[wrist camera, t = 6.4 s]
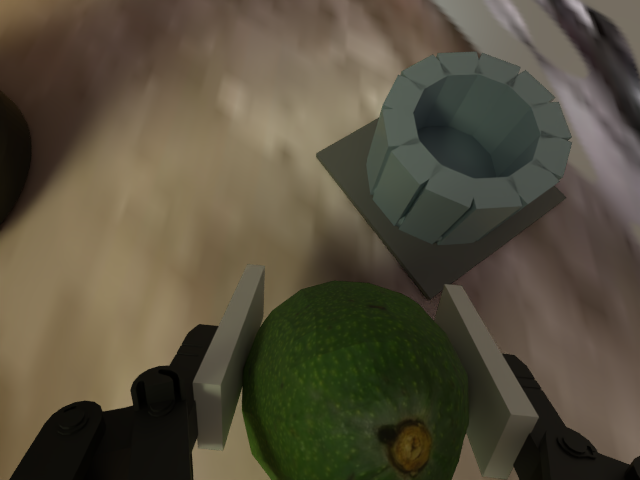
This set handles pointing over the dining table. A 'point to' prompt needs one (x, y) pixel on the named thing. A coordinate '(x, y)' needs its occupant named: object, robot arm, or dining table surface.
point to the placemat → (411, 252)
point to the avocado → (354, 388)
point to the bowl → (464, 147)
